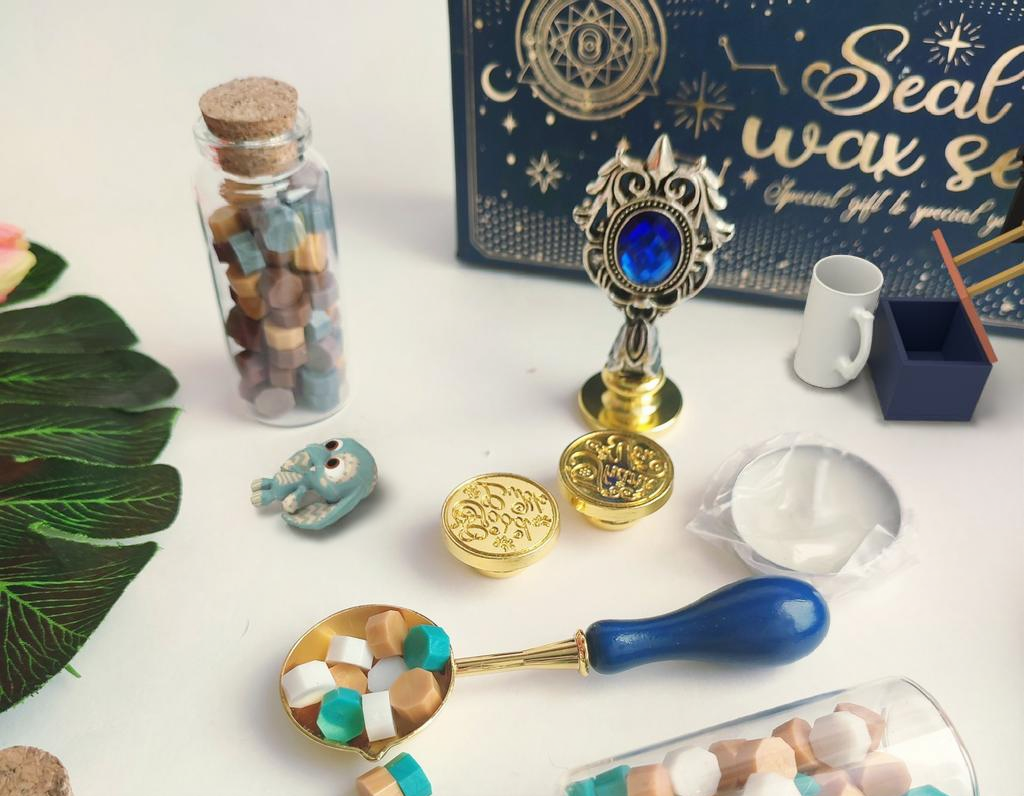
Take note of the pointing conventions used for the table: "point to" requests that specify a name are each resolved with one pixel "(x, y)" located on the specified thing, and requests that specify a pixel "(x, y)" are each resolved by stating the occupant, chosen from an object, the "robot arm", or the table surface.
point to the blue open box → (926, 359)
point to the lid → (980, 287)
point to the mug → (837, 321)
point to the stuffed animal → (320, 482)
